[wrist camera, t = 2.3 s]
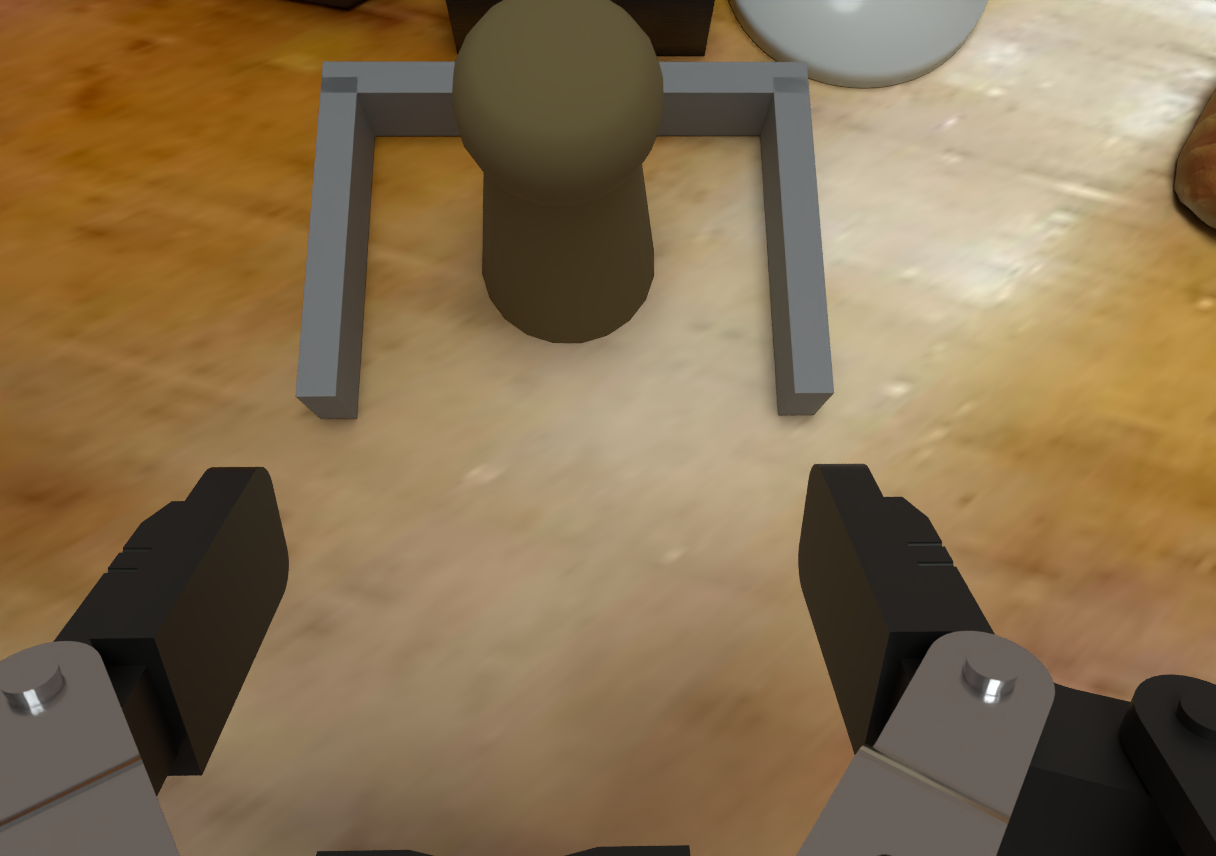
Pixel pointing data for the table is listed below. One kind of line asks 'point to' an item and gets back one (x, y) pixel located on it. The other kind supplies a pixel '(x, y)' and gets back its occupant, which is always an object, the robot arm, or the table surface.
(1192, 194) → the pastry
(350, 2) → the beer bottle
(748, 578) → the table surface
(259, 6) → the table surface
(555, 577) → the table surface
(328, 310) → the grey u-shaped frame
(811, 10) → the saucer
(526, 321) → the cork
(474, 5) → the open storage bin
